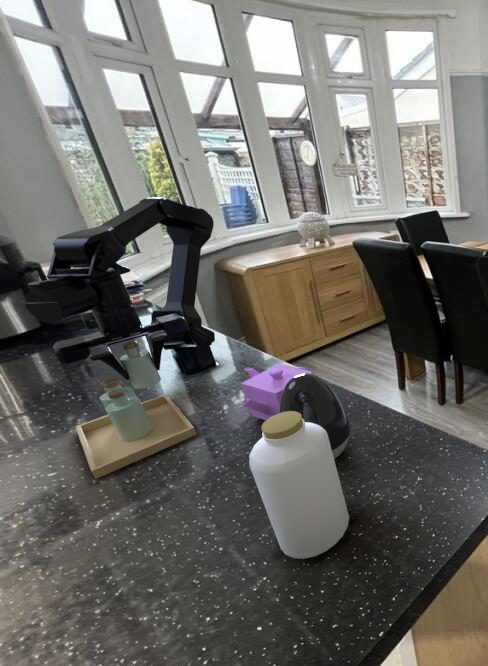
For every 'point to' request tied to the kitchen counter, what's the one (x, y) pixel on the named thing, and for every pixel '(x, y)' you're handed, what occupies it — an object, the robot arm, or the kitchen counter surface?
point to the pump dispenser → (317, 408)
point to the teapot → (267, 389)
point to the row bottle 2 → (128, 416)
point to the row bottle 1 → (111, 386)
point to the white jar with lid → (299, 485)
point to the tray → (114, 453)
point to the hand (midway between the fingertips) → (143, 374)
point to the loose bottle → (139, 366)
